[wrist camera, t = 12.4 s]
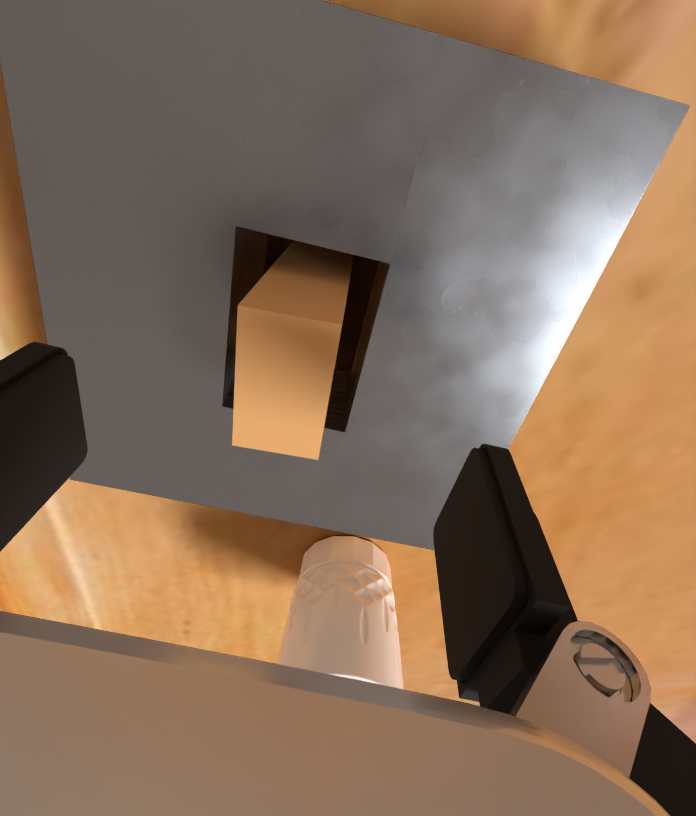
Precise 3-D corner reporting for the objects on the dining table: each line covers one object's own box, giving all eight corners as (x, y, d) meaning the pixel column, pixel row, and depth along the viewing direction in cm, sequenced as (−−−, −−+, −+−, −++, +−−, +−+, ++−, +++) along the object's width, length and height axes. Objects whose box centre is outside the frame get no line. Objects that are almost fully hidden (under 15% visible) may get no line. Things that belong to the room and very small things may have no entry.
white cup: (406, 589, 34) (417, 737, 25) (313, 601, 35) (294, 745, 27) (384, 520, 30) (388, 668, 22) (280, 537, 32) (246, 682, 23)
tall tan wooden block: (354, 252, 21) (342, 325, 12) (337, 346, 23) (318, 459, 15) (293, 240, 21) (237, 305, 12) (283, 336, 23) (232, 445, 15)
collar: (597, 117, 17) (690, 105, 12) (438, 479, 28) (452, 553, 23) (101, -20, 16) (-27, -99, 11) (128, 415, 26) (70, 479, 21)
